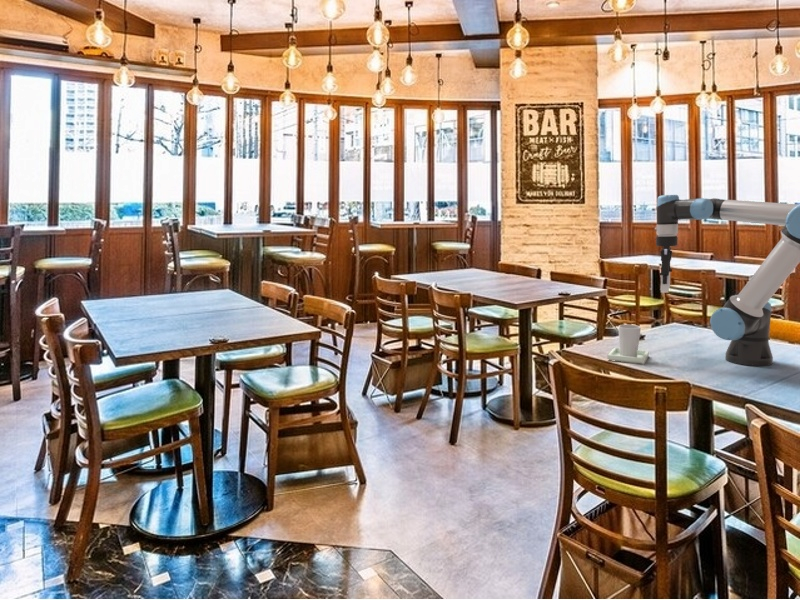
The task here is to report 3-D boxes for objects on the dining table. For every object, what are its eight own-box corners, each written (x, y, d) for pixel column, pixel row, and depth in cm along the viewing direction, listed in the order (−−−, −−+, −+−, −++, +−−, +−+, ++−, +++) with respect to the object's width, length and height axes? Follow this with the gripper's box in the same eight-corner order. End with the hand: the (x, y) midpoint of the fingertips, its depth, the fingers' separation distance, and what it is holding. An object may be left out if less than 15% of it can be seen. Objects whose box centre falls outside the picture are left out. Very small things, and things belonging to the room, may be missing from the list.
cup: (641, 360, 217) (642, 328, 215) (619, 359, 218) (620, 328, 217) (637, 354, 225) (638, 324, 223) (615, 354, 226) (616, 324, 224)
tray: (648, 356, 224) (648, 350, 224) (644, 364, 213) (644, 358, 213) (613, 352, 230) (613, 347, 230) (607, 360, 219) (607, 354, 219)
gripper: (657, 234, 234) (656, 286, 237) (654, 237, 212) (652, 294, 215) (678, 234, 231) (676, 286, 234) (676, 236, 209) (675, 294, 212)
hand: (665, 290), depth 224 cm, fingers open, 13 cm apart
